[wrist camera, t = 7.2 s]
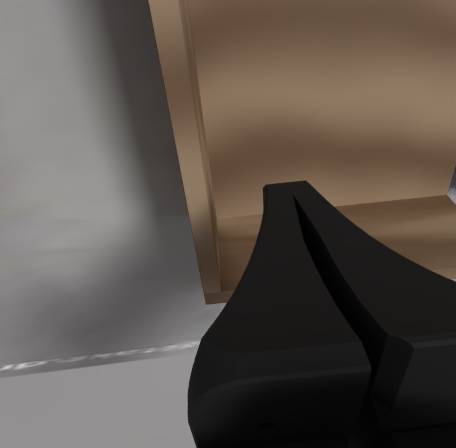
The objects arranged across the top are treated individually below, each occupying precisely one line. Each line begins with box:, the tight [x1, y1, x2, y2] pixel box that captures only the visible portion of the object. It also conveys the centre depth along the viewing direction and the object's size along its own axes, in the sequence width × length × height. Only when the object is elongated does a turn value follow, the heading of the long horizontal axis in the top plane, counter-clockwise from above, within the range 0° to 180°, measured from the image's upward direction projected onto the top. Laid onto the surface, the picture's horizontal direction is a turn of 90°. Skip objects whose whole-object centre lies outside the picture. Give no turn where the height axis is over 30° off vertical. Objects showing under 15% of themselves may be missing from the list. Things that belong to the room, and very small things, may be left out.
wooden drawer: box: [148, 0, 456, 305], centre depth 15 cm, size 20×14×7 cm
